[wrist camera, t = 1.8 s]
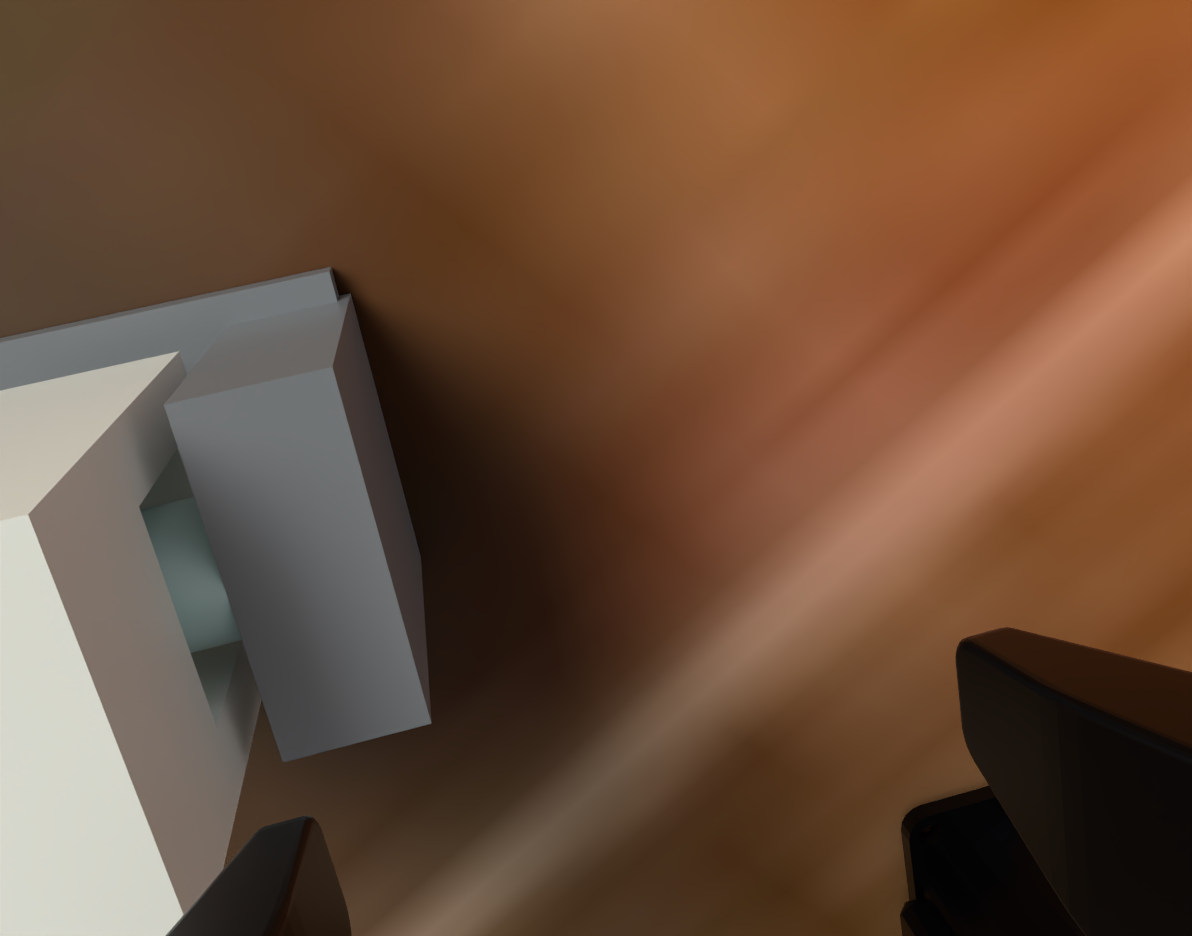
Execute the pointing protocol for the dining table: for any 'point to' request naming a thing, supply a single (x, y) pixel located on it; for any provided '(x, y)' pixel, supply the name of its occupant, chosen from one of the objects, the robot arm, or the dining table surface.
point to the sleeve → (105, 669)
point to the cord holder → (276, 500)
